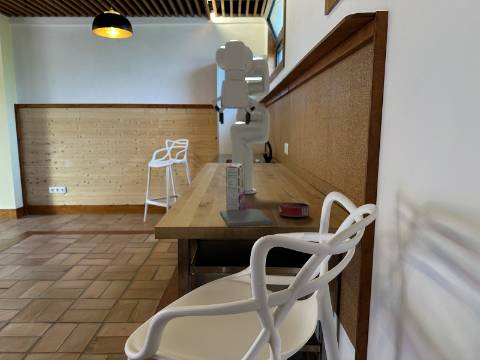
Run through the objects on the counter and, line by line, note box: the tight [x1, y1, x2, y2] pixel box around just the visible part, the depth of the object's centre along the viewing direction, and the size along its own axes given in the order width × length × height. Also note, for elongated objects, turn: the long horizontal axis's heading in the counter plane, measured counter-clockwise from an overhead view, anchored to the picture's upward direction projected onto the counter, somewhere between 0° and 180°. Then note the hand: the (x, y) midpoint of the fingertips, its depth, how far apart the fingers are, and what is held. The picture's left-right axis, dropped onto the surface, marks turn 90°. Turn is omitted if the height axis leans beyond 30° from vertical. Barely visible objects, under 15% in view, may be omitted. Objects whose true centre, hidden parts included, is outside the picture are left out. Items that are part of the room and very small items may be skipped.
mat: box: [219, 208, 272, 227], centre depth 105 cm, size 16×13×1 cm
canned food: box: [278, 187, 310, 218], centre depth 108 cm, size 11×10×10 cm
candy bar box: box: [225, 163, 246, 210], centre depth 117 cm, size 11×5×16 cm, turn 170°
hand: (234, 124), depth 124 cm, fingers open, 9 cm apart
